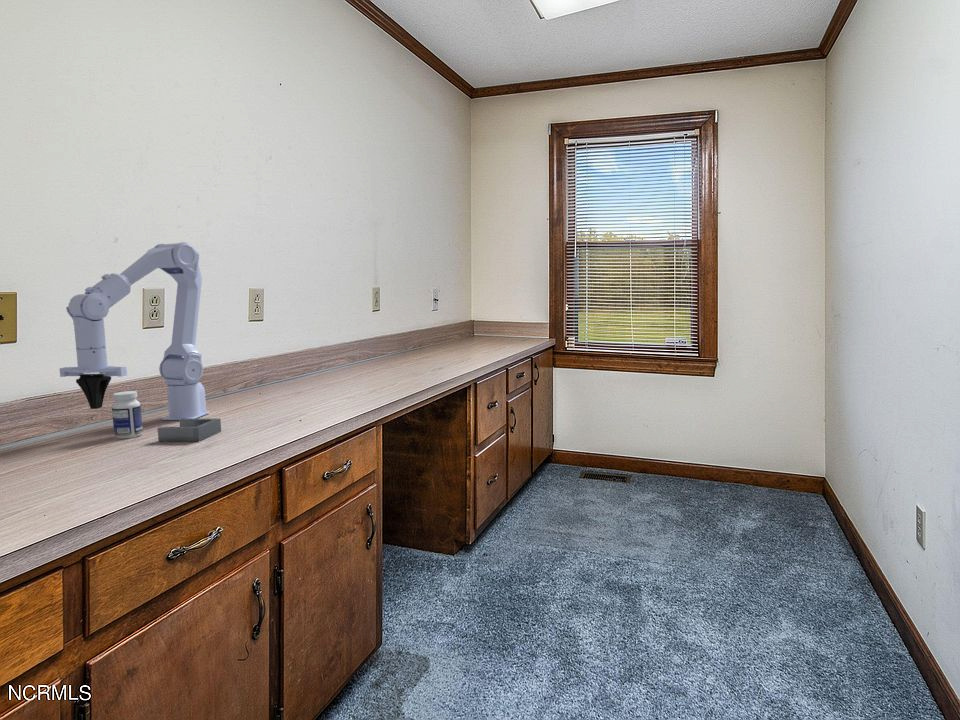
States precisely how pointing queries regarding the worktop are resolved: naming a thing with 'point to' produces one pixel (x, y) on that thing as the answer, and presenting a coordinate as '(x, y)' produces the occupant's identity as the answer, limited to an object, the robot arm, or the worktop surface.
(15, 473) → the worktop surface
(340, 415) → the worktop surface
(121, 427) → the pill bottle
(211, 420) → the metal u-channel bracket
